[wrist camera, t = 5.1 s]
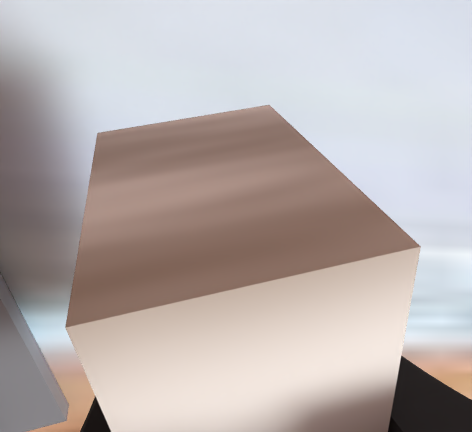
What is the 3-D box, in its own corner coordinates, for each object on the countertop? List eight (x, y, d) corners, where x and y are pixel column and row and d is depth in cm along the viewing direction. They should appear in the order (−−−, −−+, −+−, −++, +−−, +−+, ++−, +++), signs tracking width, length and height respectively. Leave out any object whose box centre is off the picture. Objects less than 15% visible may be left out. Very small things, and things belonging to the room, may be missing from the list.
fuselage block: (283, 392, 16) (359, 592, 11) (178, 420, 15) (205, 646, 10) (269, 104, 10) (420, 247, 5) (97, 133, 9) (65, 326, 4)
